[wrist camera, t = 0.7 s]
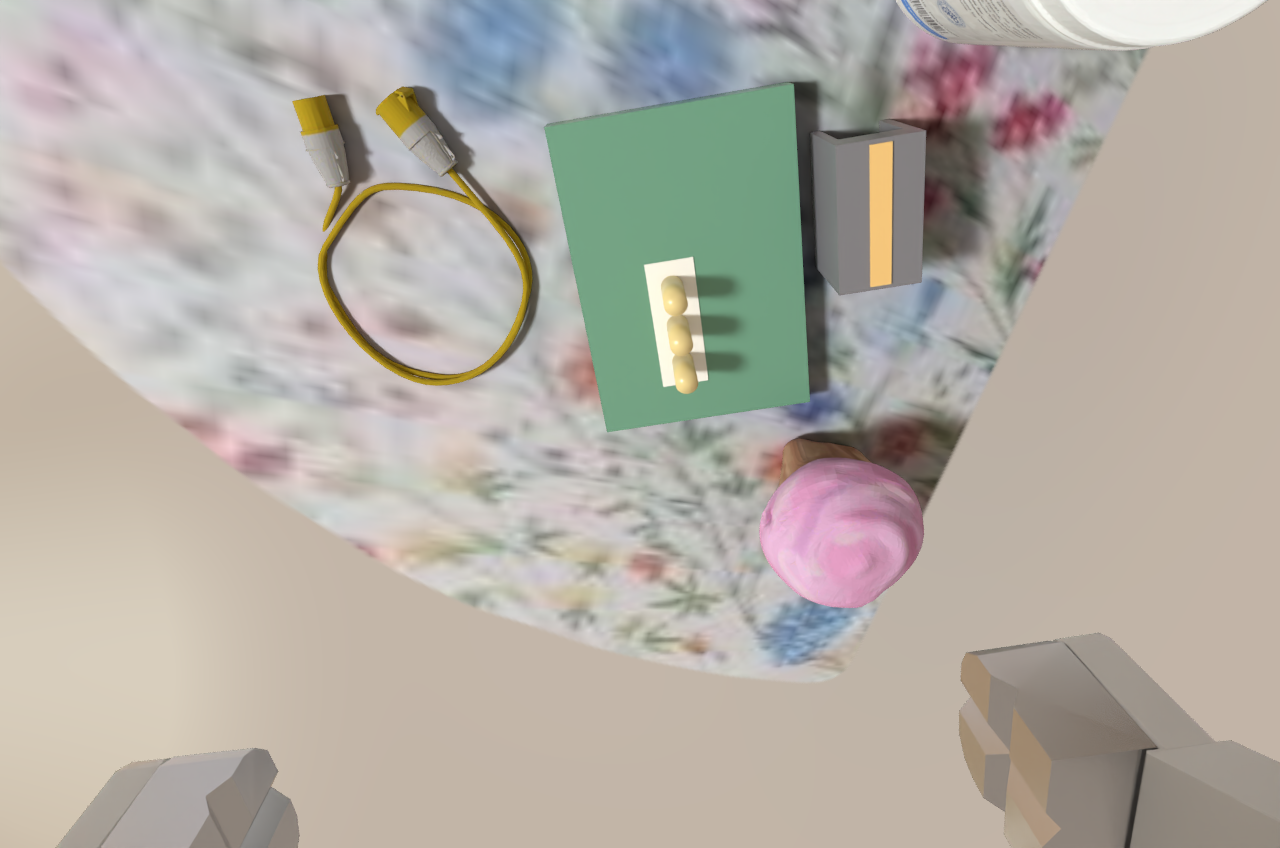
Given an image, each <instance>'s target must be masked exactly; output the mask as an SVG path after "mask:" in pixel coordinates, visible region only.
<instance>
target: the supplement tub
mask: <svg viewBox="0 0 1280 848" xmlns="http://www.w3.org/2000/svg"><path fill="white" fill-rule="evenodd" d="M1266 1H1267V0H896V2H897V4H898V5H899V7H900V8H901V10H902V11H903V12H904V14H905V15H906V16H907V17H908V19H910V20H911V21H912V22H913V23H914V24H915V25H916V26H917V27H918V28H920V29H921V30H923V31H924V32H926V33H928V34H929V35H931V36H933V37H936V38H938V39H940V40H944V41H947V42H951V43H958V44H972V45H1000V46H1015V47H1039V48H1063V49H1085V50H1112V51H1115V50H1138V49H1145V48H1151V47H1155V46H1164V45H1171V44H1177V43H1182V42H1186V41H1190V40H1193V39H1196V38H1199V37H1202V36H1205V35H1208V34H1210V33H1213V32H1215V31H1218V30H1220V29H1222V28H1224V27H1226V26H1228V25H1230V24H1232V23H1234V22H1236V21H1237V20H1239V19H1241V18H1242V17H1244V16H1246V15H1247V14H1249V13H1251V12H1252V11H1254V10H1255V9H1257V8H1258V7H1259V6H1261V5H1262V4H1263V3H1265V2H1266Z"/></svg>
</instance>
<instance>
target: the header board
mask: <svg viewBox="0 0 1280 848" xmlns="http://www.w3.org/2000/svg"><path fill="white" fill-rule="evenodd" d="M544 128H545V133H546V138H547V143H548V148H549V153H550V157H551V162H552V167H553V172H554V177H555V182H556V186H557V191H558V196H559V201H560V206H561V211H562V215H563V220H564V225H565V230H566V235H567V240H568V245H569V249H570V254H571V259H572V264H573V269H574V274H575V278H576V283H577V288H578V293H579V298H580V303H581V307H582V312H583V317H584V322H585V327H586V332H587V336H588V341H589V346H590V351H591V356H592V361H593V366H594V370H595V375H596V380H597V385H598V390H599V395H600V399H601V404H602V409H603V414H604V419H605V424H606V428H607V432H612V431H618V430H625V429H632V428H638V427H645V426H652V425H658V424H665V423H672V422H678V421H685V420H691V419H698V418H705V417H711V416H718V415H725V414H731V413H738V412H745V411H751V410H758V409H765V408H771V407H778V406H785V405H791V404H798V403H805V402H810V395H809V375H808V355H807V335H806V316H805V296H804V276H803V256H802V237H801V217H800V197H799V177H798V158H797V138H796V118H795V98H794V84H792V83H789V82H785V83H779V84H773V85H768V86H762V87H756V88H750V89H745V90H739V91H733V92H728V93H722V94H716V95H710V96H705V97H699V98H693V99H687V100H682V101H676V102H670V103H665V104H659V105H653V106H647V107H642V108H636V109H630V110H624V111H619V112H613V113H607V114H602V115H596V116H590V117H584V118H579V119H573V120H567V121H561V122H556V123H550V124H547V125H546V126H545V127H544Z"/></svg>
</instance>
